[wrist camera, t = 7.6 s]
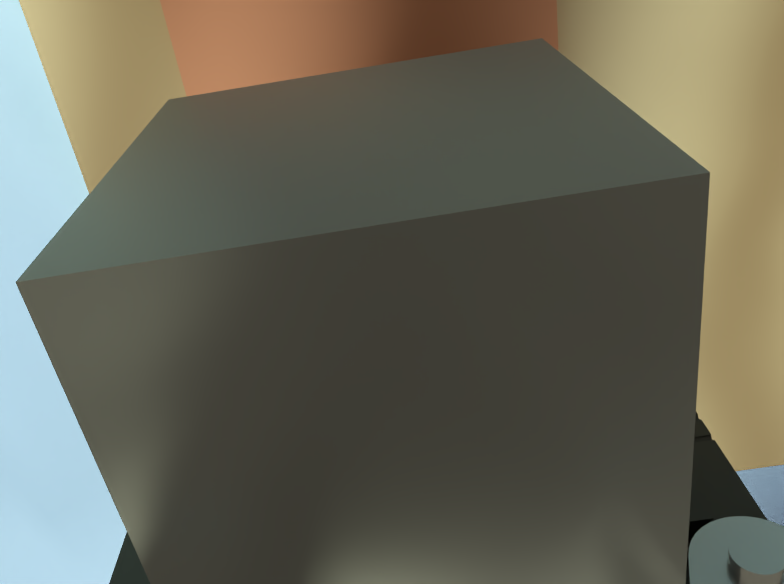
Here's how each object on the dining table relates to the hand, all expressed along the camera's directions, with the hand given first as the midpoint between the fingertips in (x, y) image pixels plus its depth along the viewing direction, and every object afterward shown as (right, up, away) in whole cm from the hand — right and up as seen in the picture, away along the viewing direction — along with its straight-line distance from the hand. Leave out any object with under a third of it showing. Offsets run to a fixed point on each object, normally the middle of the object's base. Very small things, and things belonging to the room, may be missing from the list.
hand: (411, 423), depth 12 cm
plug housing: (0, 0, 0) cm, 1 cm away
